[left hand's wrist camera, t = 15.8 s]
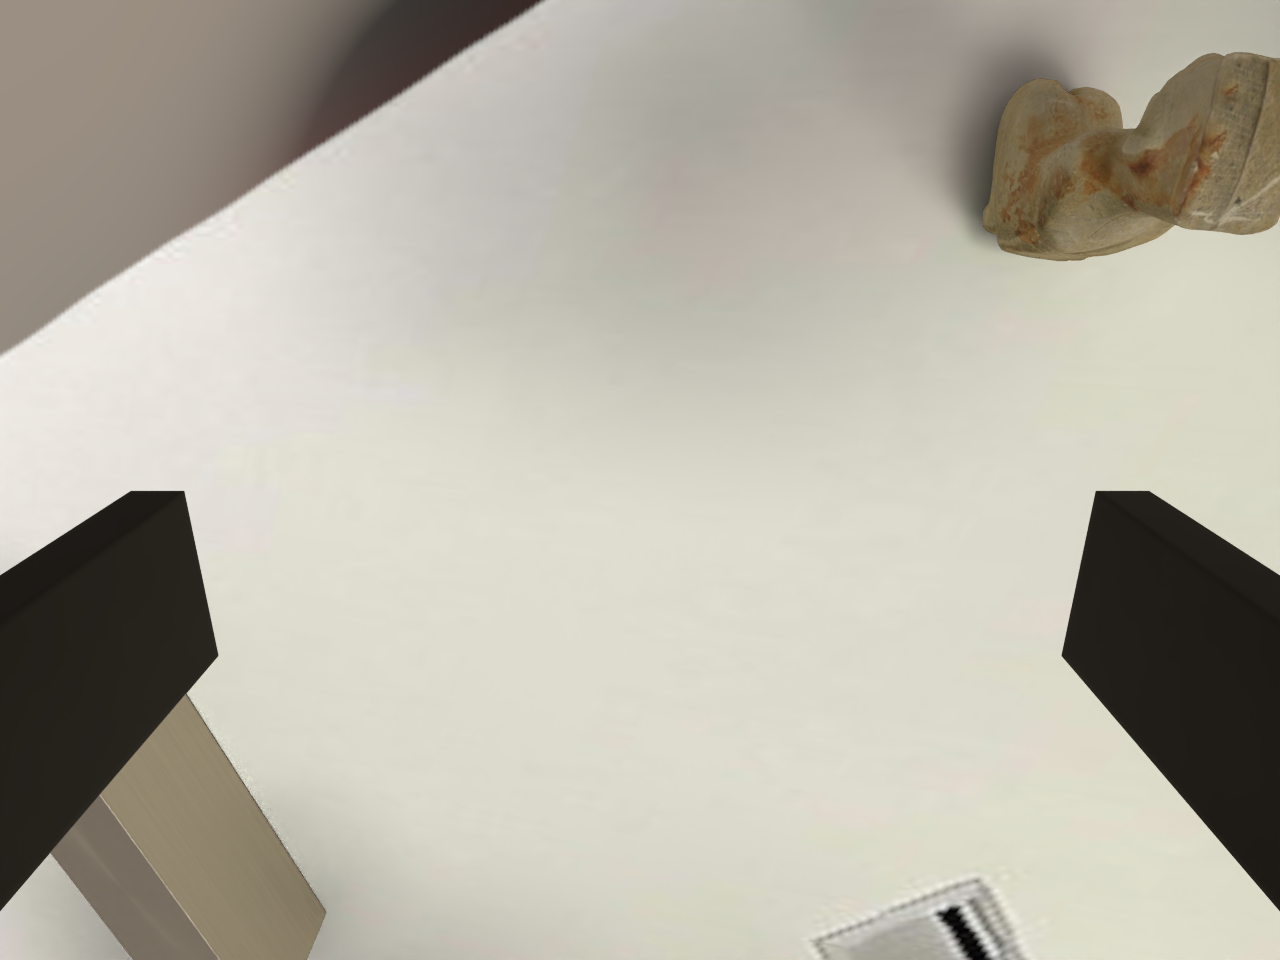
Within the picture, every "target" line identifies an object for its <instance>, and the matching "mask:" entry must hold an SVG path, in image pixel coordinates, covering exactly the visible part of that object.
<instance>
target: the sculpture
mask: <svg viewBox="0 0 1280 960" xmlns="http://www.w3.org/2000/svg"><path fill="white" fill-rule="evenodd" d="M1279 217H1280V58H1270V57H1265V56H1261V55H1256V54H1252V53H1243V52H1234V53H1231V54H1227V55H1226V56H1222V55H1220V54H1216V53H1211V54H1206V55H1203V56H1201V57H1199V58H1198V59H1196V60H1195V61H1194V62H1192V63H1191V64H1190V65H1188V66H1187V67H1186V68H1185V69H1184V70H1182V71H1180V72H1178V73H1177V74H1176V75H1175V76H1173V77H1172V78H1171V79H1170V80H1168V81H1167V83H1166V84H1165V85H1164V87H1163V88H1162V89H1161V91H1160V92H1158V93H1156V94H1155V95H1154V96H1153V97H1152V98H1151V100H1150V102H1149V104H1148V106H1147V108H1146V110H1145V112H1144V115H1143V117H1142V119H1141V121H1140V123H1139V125H1138V127H1137V128H1136V129H1123V123H1122V116H1121V111H1120V107H1119V105H1118V103H1117V102H1116V100H1114V99H1113V98H1112V97H1111V96H1110V95H1108V94H1107V93H1105V92H1104V91H1100V90H1097V89H1094V88H1090V87H1084V88H1077V89H1074V90H1072V91H1070V92H1069V93H1068V92H1067V91H1065V90H1064V89H1063V88H1062V86H1061V85H1060V84H1059V82H1058V81H1054V80H1047V79H1035V80H1032V81H1030V82H1028V83H1026V84H1024V85H1022V86H1021V87H1020V88H1019V89H1018V90H1017V91H1016V92H1015V93H1014V94H1013V96H1012V97H1011V98H1010V100H1009V102H1008V103H1007V105H1006V107H1005V109H1004V112H1003V114H1002V117H1001V121H1000V124H999V129H998V135H997V141H996V148H995V157H994V165H993V180H992V188H991V195H990V200H989V204H988V205H986V207H985V208H984V210H983V219H982V220H983V227H984V229H985V230H986V231H988V232H990V233H992V234H996V235H997V241H998V245H999V247H1000V248H1001V249H1002V250H1004V251H1006V252H1009V253H1013V254H1018V255H1022V256H1026V257H1032V258H1039V259H1047V260H1055V261H1068V260H1084V259H1085V258H1088V257H1092V256H1103V255H1109V254H1113V253H1117V252H1120V251H1123V250H1126V249H1129V248H1132V247H1135V246H1138V245H1141V244H1144V243H1147V242H1149V241H1151V240H1154V239H1156V238H1158V237H1159V236H1161V235H1162V234H1164V233H1165V232H1167V231H1168V230H1169V229H1170V228H1172V227H1173V226H1174V225H1177V226H1180V227H1182V228H1186V229H1191V230H1207V231H1217V232H1226V233H1232V234H1238V235H1246V234H1254V233H1259V232H1262V231H1265V230H1268V229H1270V228H1271V227H1273V226H1274V225H1275V224H1276V223H1277V222H1278V219H1279Z"/></svg>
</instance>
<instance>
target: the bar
mask: <svg viewBox="0 0 1280 960" xmlns="http://www.w3.org/2000/svg"><path fill="white" fill-rule="evenodd" d="M50 853H51V854H52V855H53V857H54V858H55V859H56V861H57V862H58V863H59V864H60V866H61V867H62V868H63V870H64V871H65V872H66V874H67V875H68V876H69V877H70V879H71V880H72V881H73V883H74V884H75V885H76V886H77V888H78V889H79V890H80V892H81V893H82V894H83V896H84V897H85V898H86V899H87V901H88V902H89V903H90V905H91V906H92V907H93V908H94V910H95V911H96V912H97V914H98V915H99V916H100V918H101V919H102V920H103V921H104V923H105V924H106V925H107V927H108V928H109V929H110V930H111V932H112V933H113V934H114V936H115V937H116V938H117V940H118V941H119V942H120V943H121V945H122V946H123V947H124V949H125V950H126V951H127V952H128V954H129V955H130V956H131V958H132V959H133V960H307V958H308V956H309V953H310V951H311V949H312V946H313V944H314V941H315V939H316V937H317V934H318V932H319V929H320V927H321V925H322V922H323V920H324V917H325V915H326V912H325V910H324V909H323V907H322V906H321V904H320V903H319V901H318V899H317V898H316V896H315V895H314V893H313V892H312V890H311V889H310V887H309V885H308V884H307V882H306V881H305V879H304V878H303V876H302V875H301V873H300V871H299V870H298V868H297V867H296V865H295V864H294V862H293V861H292V859H291V857H290V856H289V854H288V853H287V851H286V850H285V848H284V847H283V845H282V843H281V842H280V840H279V839H278V837H277V836H276V834H275V833H274V831H273V829H272V828H271V826H270V825H269V823H268V822H267V820H266V819H265V817H264V815H263V814H262V812H261V811H260V809H259V808H258V806H257V805H256V803H255V801H254V800H253V798H252V797H251V795H250V794H249V792H248V791H247V789H246V787H245V786H244V784H243V783H242V781H241V780H240V778H239V777H238V775H237V773H236V772H235V770H234V769H233V767H232V766H231V764H230V763H229V761H228V759H227V758H226V756H225V755H224V753H223V752H222V750H221V749H220V747H219V745H218V744H217V742H216V741H215V739H214V738H213V736H212V735H211V733H210V731H209V730H208V728H207V727H206V725H205V724H204V722H203V721H202V719H201V717H200V716H199V714H198V713H197V711H196V710H195V708H194V707H193V705H192V703H191V702H190V700H189V699H188V697H187V696H186V694H185V695H184V697H183V698H182V699H181V700H180V701H179V703H178V704H177V705H176V706H175V707H174V708H173V710H172V711H171V712H170V713H169V714H168V715H167V717H166V718H165V719H164V720H163V721H162V722H161V724H160V725H159V726H158V727H157V728H156V729H155V731H154V732H153V733H152V734H151V735H150V736H149V738H148V739H147V740H146V741H145V742H144V743H143V745H142V746H141V747H140V748H139V749H138V750H137V752H136V753H135V754H134V755H133V756H132V757H131V759H130V760H129V761H128V762H127V763H126V765H125V766H124V767H123V768H122V769H121V770H120V772H119V773H118V774H117V775H116V776H115V777H114V779H113V780H112V781H111V782H110V783H109V784H108V786H107V787H106V788H105V789H104V790H103V791H102V793H101V794H100V795H99V796H98V797H97V798H96V800H95V801H94V802H93V803H92V804H91V805H90V807H89V808H88V809H87V810H86V811H85V812H84V814H83V815H82V816H81V817H80V818H79V820H78V821H77V822H76V823H75V824H74V825H73V827H72V828H71V829H70V830H69V831H68V832H67V834H66V835H65V836H64V837H63V838H62V839H61V841H60V842H59V843H58V844H57V845H56V846H55V848H54V849H53V850H52V851H51V852H50Z"/></svg>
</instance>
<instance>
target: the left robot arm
mask: <svg viewBox="0 0 1280 960" xmlns="http://www.w3.org/2000/svg"><path fill="white" fill-rule="evenodd" d="M217 657H218V651H217V646H216V642H215V637H214V632H213V627H212V622H211V618H210V613H209V608H208V603H207V598H206V594H205V589H204V584H203V579H202V574H201V570H200V565H199V560H198V555H197V550H196V546H195V541H194V536H193V531H192V526H191V521H190V517H189V512H188V507H187V502H186V497H185V493H184V491H130V492H129V493H127V494H126V495H124V496H122V497H121V498H119V499H118V500H116V501H115V502H113V503H112V504H110V505H109V506H107V507H105V508H104V509H102V510H101V511H99V512H98V513H96V514H95V515H93V516H92V517H90V518H88V519H87V520H85V521H84V522H82V523H81V524H79V525H78V526H76V527H74V528H73V529H71V530H70V531H68V532H67V533H65V534H64V535H62V536H61V537H59V538H57V539H56V540H54V541H53V542H51V543H50V544H48V545H47V546H45V547H43V548H42V549H40V550H39V551H37V552H36V553H34V554H33V555H31V556H30V557H28V558H26V559H25V560H23V561H22V562H20V563H19V564H17V565H16V566H14V567H12V568H11V569H9V570H8V571H6V572H5V573H3V574H2V575H0V911H1V910H2V908H3V907H4V906H5V905H6V904H7V903H8V901H9V900H10V899H11V898H12V897H13V896H14V894H15V893H16V892H17V891H18V890H19V889H20V887H21V886H22V885H23V884H24V883H25V882H26V880H27V879H28V878H29V877H30V876H31V875H32V873H33V872H34V871H35V870H36V869H37V867H38V866H39V865H40V864H41V863H42V862H43V860H44V859H45V858H46V857H47V856H48V855H49V853H50V852H51V851H52V850H53V849H54V848H55V846H56V845H57V844H58V843H59V842H60V841H61V839H62V838H63V837H64V836H65V835H66V834H67V832H68V831H69V830H70V829H71V828H72V827H73V825H74V824H75V823H76V822H77V821H78V820H79V818H80V817H81V816H82V815H83V814H84V812H85V811H86V810H87V809H88V808H89V807H90V805H91V804H92V803H93V802H94V801H95V800H96V798H97V797H98V796H99V795H100V794H101V793H102V791H103V790H104V789H105V788H106V787H107V786H108V784H109V783H110V782H111V781H112V780H113V779H114V777H115V776H116V775H117V774H118V773H119V772H120V770H121V769H122V768H123V767H124V766H125V765H126V763H127V762H128V761H129V760H130V759H131V757H132V756H133V755H134V754H135V753H136V752H137V750H138V749H139V748H140V747H141V746H142V745H143V743H144V742H145V741H146V740H147V739H148V738H149V736H150V735H151V734H152V733H153V732H154V731H155V729H156V728H157V727H158V726H159V725H160V724H161V722H162V721H163V720H164V719H165V718H166V717H167V715H168V714H169V713H170V712H171V711H172V710H173V708H174V707H175V706H176V705H177V704H178V703H179V701H180V700H181V699H182V698H183V697H184V695H185V694H186V693H187V692H188V691H189V690H190V688H191V687H192V686H193V685H194V684H195V683H196V681H197V680H198V679H199V678H200V677H201V676H202V674H203V673H204V672H205V671H206V670H207V669H208V667H209V666H210V665H211V664H212V663H213V662H214V660H215V659H216V658H217ZM1062 657H1063V658H1064V659H1065V660H1066V662H1067V663H1068V664H1069V665H1070V666H1071V667H1072V669H1073V670H1074V671H1075V672H1076V673H1077V674H1078V676H1079V677H1080V678H1081V679H1082V680H1083V681H1084V683H1085V684H1086V685H1087V686H1088V687H1089V688H1090V690H1091V691H1092V692H1093V693H1094V694H1095V695H1096V697H1097V698H1098V699H1099V700H1100V701H1101V703H1102V704H1103V705H1104V706H1105V707H1106V708H1107V710H1108V711H1109V712H1110V713H1111V714H1112V715H1113V717H1114V718H1115V719H1116V720H1117V721H1118V722H1119V724H1120V725H1121V726H1122V727H1123V728H1124V729H1125V731H1126V732H1127V733H1128V734H1129V735H1130V736H1131V738H1132V739H1133V740H1134V741H1135V742H1136V743H1137V745H1138V746H1139V747H1140V748H1141V749H1142V750H1143V752H1144V753H1145V754H1146V755H1147V756H1148V757H1149V759H1150V760H1151V761H1152V762H1153V763H1154V765H1155V766H1156V767H1157V768H1158V769H1159V770H1160V772H1161V773H1162V774H1163V775H1164V776H1165V777H1166V779H1167V780H1168V781H1169V782H1170V783H1171V784H1172V786H1173V787H1174V788H1175V789H1176V790H1177V791H1178V793H1179V794H1180V795H1181V796H1182V797H1183V798H1184V800H1185V801H1186V802H1187V803H1188V804H1189V805H1190V807H1191V808H1192V809H1193V810H1194V811H1195V812H1196V814H1197V815H1198V816H1199V817H1200V818H1201V820H1202V821H1203V822H1204V823H1205V824H1206V825H1207V827H1208V828H1209V829H1210V830H1211V831H1212V832H1213V834H1214V835H1215V836H1216V837H1217V838H1218V839H1219V841H1220V842H1221V843H1222V844H1223V845H1224V846H1225V848H1226V849H1227V850H1228V851H1229V852H1230V853H1231V855H1232V856H1233V857H1234V858H1235V859H1236V860H1237V862H1238V863H1239V864H1240V865H1241V866H1242V867H1243V869H1244V870H1245V871H1246V872H1247V873H1248V875H1249V876H1250V877H1251V878H1252V879H1253V880H1254V882H1255V883H1256V884H1257V885H1258V886H1259V887H1260V889H1261V890H1262V891H1263V892H1264V893H1265V894H1266V896H1267V897H1268V898H1269V899H1270V900H1271V901H1272V903H1273V904H1274V905H1275V906H1276V907H1277V908H1278V910H1279V911H1280V575H1278V574H1277V573H1275V572H1274V571H1272V570H1271V569H1269V568H1268V567H1266V566H1264V565H1263V564H1261V563H1260V562H1258V561H1257V560H1255V559H1254V558H1252V557H1250V556H1249V555H1247V554H1246V553H1244V552H1243V551H1241V550H1240V549H1238V548H1237V547H1235V546H1233V545H1232V544H1230V543H1229V542H1227V541H1226V540H1224V539H1223V538H1221V537H1219V536H1218V535H1216V534H1215V533H1213V532H1212V531H1210V530H1209V529H1207V528H1206V527H1204V526H1202V525H1201V524H1199V523H1198V522H1196V521H1195V520H1193V519H1192V518H1190V517H1188V516H1187V515H1185V514H1184V513H1182V512H1181V511H1179V510H1178V509H1176V508H1175V507H1173V506H1171V505H1170V504H1168V503H1167V502H1165V501H1164V500H1162V499H1161V498H1159V497H1158V496H1156V495H1154V494H1153V493H1151V492H1150V491H1096V493H1095V497H1094V502H1093V507H1092V512H1091V517H1090V521H1089V526H1088V531H1087V536H1086V541H1085V546H1084V550H1083V555H1082V560H1081V565H1080V570H1079V574H1078V579H1077V584H1076V589H1075V594H1074V598H1073V603H1072V608H1071V613H1070V618H1069V622H1068V627H1067V632H1066V637H1065V642H1064V646H1063V651H1062Z"/></svg>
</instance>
